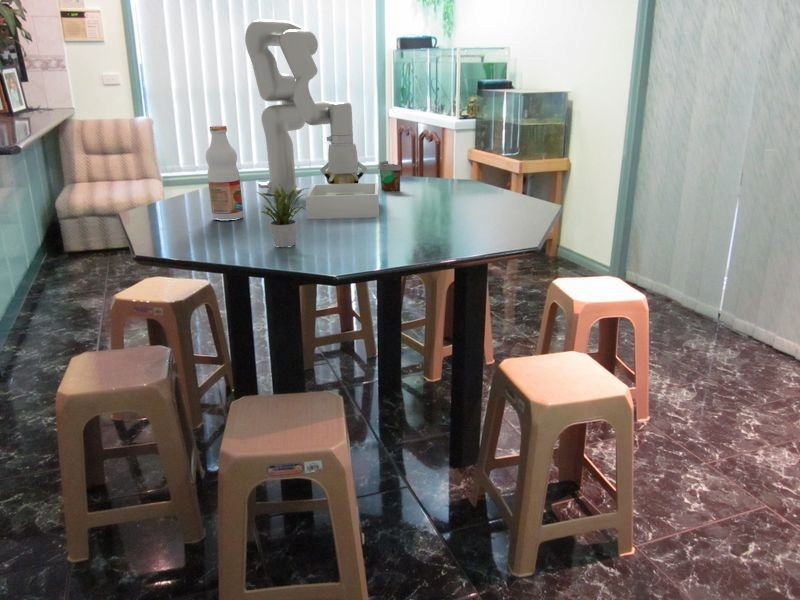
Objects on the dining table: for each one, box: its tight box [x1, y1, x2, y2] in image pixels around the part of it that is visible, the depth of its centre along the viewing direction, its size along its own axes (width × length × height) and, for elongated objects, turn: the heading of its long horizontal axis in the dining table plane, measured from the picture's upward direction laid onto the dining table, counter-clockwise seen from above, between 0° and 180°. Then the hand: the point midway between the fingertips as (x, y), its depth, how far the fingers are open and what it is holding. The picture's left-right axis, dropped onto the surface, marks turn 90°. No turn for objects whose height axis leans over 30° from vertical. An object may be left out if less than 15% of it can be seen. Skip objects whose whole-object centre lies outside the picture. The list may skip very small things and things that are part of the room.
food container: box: [377, 160, 402, 192], centre depth 243 cm, size 12×6×10 cm, turn 25°
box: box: [305, 182, 380, 220], centre depth 208 cm, size 22×22×7 cm
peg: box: [338, 174, 350, 184], centre depth 227 cm, size 4×4×10 cm
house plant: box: [256, 184, 309, 247], centre depth 166 cm, size 14×14×16 cm
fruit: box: [325, 168, 355, 184], centre depth 245 cm, size 11×12×10 cm
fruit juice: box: [205, 125, 244, 219], centre depth 198 cm, size 9×9×28 cm
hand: (344, 191), depth 228 cm, fingers open, 7 cm apart
